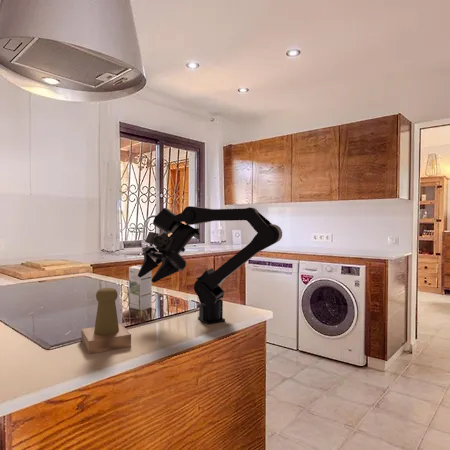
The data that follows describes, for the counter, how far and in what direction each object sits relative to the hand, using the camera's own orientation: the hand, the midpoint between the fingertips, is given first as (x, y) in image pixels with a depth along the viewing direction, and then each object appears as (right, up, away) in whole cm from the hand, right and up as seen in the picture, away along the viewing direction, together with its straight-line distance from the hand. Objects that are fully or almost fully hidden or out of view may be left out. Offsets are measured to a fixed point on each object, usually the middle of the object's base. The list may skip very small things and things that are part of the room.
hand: (145, 279), depth 105 cm
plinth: (-7, -14, -15) cm, 22 cm away
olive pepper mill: (-6, -11, -15) cm, 20 cm away
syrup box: (-6, -13, +18) cm, 23 cm away
